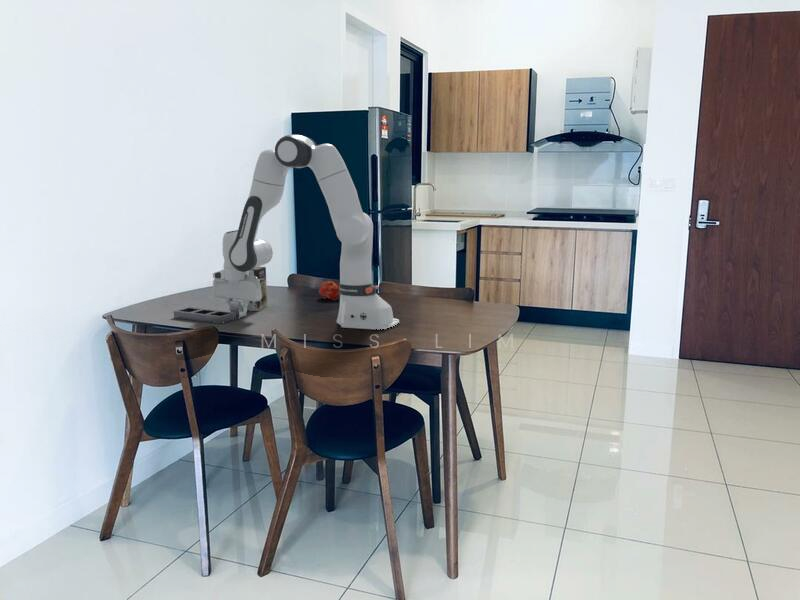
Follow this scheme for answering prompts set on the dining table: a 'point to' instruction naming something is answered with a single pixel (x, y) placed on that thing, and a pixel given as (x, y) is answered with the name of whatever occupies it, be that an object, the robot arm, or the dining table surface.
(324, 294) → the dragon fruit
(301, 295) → the dining table surface
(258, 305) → the coffee box
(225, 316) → the grey compartment tray
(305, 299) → the dining table surface
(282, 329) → the dining table surface
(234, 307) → the nut block
